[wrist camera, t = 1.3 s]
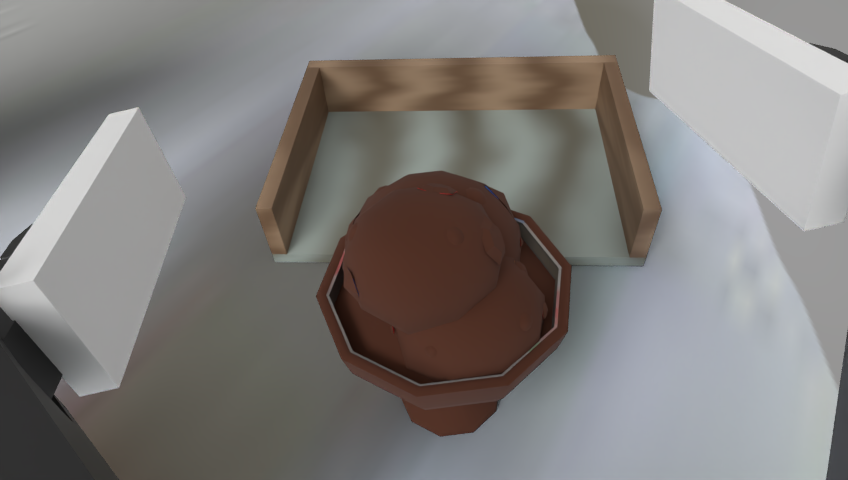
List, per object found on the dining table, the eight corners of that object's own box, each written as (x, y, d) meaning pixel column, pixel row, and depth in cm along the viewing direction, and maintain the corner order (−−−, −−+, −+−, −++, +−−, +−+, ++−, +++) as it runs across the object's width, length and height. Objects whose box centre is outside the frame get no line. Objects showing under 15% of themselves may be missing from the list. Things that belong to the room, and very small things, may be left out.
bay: (275, 262, 39) (255, 208, 36) (321, 113, 51) (309, 61, 47) (643, 265, 37) (661, 209, 34) (604, 109, 49) (615, 55, 45)
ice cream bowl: (576, 471, 29) (642, 278, 18) (350, 500, 29) (276, 322, 18) (528, 299, 36) (553, 88, 25) (347, 321, 36) (293, 116, 25)
